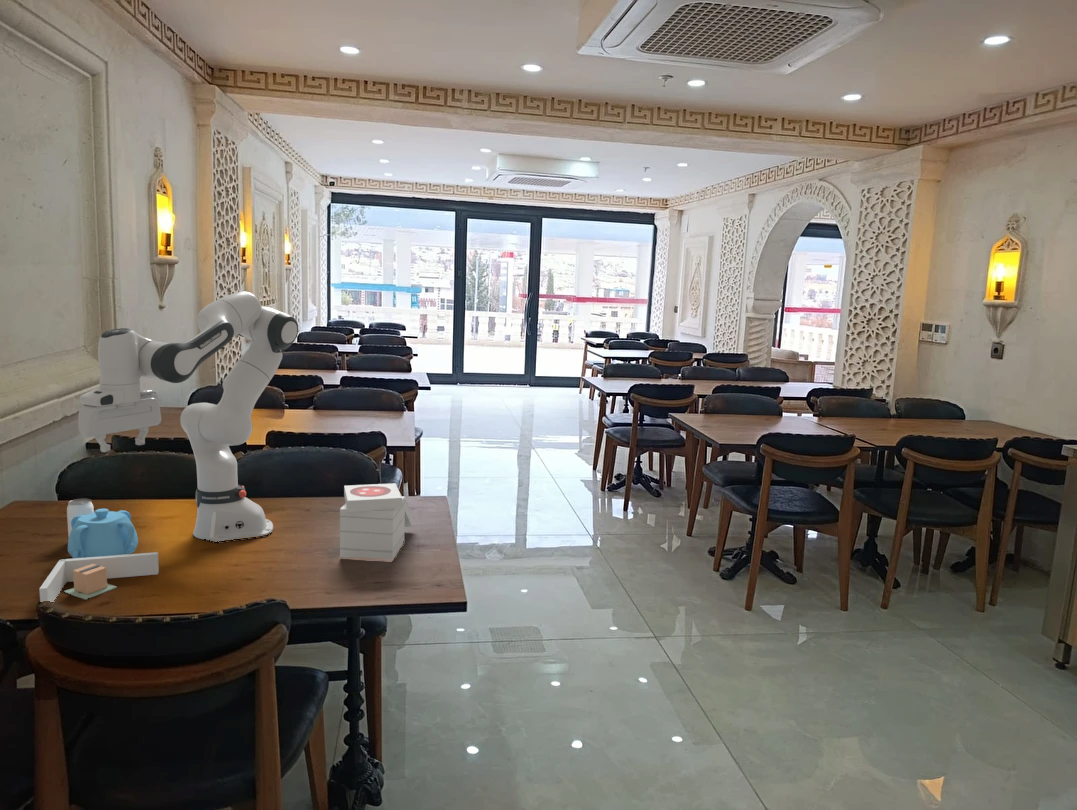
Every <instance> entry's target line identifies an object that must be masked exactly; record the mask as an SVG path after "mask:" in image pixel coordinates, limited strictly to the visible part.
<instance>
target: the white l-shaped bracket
mask: <svg viewBox="0 0 1077 810" xmlns="http://www.w3.org/2000/svg"><path fill="white" fill-rule="evenodd" d="M90 564H96V565H100V566H102V567H105V568H106V572H107V580H108V579H119V578H129V577H131V578H132V577H140V576H142V577H143V576H151V575H152V576H153V575H155V576H156V575H159V572H160V571H159V570H160V569H159V552H158V551H155V552H143V553H131V554H126V555H113V556H100V557H87V558H73V557H72V558H65V559H64V558H62V559H59V560H58V561H57V563H56V564H55V566H54V567H53V568H52V570H51V571H50V573H49V574H48V575H47V577H46V579H45V580H44V581H43V583H42V585H41V586H40V587H39V589H38V590H39V602H43V601H50V602H54V603H55V601H56V600H57V598H58V597H57V596H59V595H60V593H61V592H62V590H63V589H64V587H65V586H64V585H66V584H67V583H71V582H73V583H74V578H73V570H76V569H79V568H82V567H85V566H87V565H90ZM62 588H63V589H62ZM117 588H118V586H116V585H113V584H110V583H107V587H106V588H103V589H101V590H98V591H95V592H93V593H90V594H85V593H82V592H79V591H76V590H74V587H72V588H69V589H66V590H64V591H63V593H64V592H65V594H67V593H68V595H70V594H71V596H74V597H77V598H78V599H79V598H80V599H82V600H88V598H89V599H90V598H91V599H92V598H93V597H94V598H95V597H96V596H99V595H101V594H104V593H107V592H109V591H112V590H115V589H117ZM60 591H61V592H60ZM58 594H59V595H58ZM56 597H57V598H56ZM55 599H56V600H55ZM54 600H55V601H54Z"/></svg>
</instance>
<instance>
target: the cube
mask: <svg viewBox="0 0 1077 810" xmlns="http://www.w3.org/2000/svg"><path fill="white" fill-rule="evenodd" d="M73 578H74V581H73V588H74V590H76V591H79V592H82V593H85V594H90V593H93V592H95V591H98V590H101V589H103V588H106V587H107V584H108V579H107V572H106V568H105V567H102V566H100V565H96V564H90V565H87V566H85V567H82V568H79V569H76V570H73Z"/></svg>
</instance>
